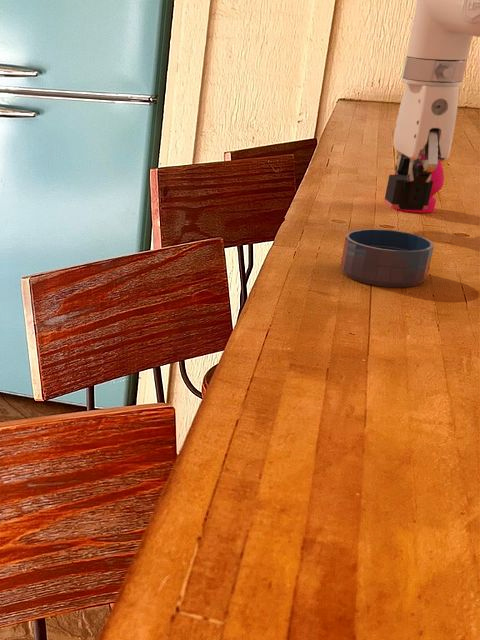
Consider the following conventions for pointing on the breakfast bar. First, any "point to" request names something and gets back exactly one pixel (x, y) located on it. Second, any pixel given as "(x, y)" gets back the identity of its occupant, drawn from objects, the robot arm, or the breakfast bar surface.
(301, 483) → the breakfast bar surface
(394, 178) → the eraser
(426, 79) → the robot arm
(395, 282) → the bowl
